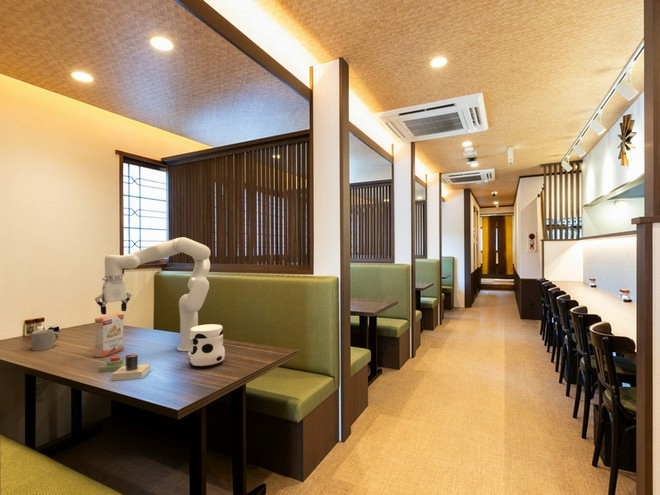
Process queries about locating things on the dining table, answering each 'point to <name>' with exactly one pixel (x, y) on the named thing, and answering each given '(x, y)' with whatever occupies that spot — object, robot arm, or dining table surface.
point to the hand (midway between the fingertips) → (114, 312)
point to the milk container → (206, 345)
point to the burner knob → (131, 362)
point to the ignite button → (114, 358)
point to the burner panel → (131, 373)
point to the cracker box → (108, 335)
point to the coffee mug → (43, 339)
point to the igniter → (112, 365)
